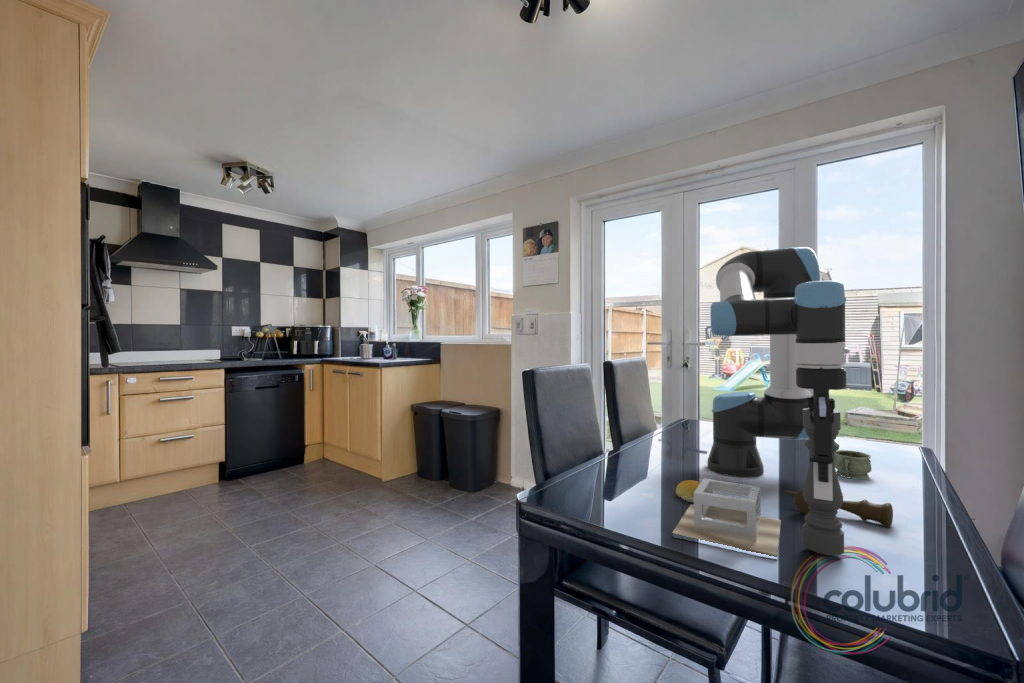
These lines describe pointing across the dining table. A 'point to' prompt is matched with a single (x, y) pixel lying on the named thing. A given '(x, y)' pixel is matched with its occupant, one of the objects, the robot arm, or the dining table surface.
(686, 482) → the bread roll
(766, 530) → the stand base
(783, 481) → the dining table surface
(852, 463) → the vessel
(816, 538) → the candle holder
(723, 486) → the grey cinder block
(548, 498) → the dining table surface
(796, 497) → the kendama
